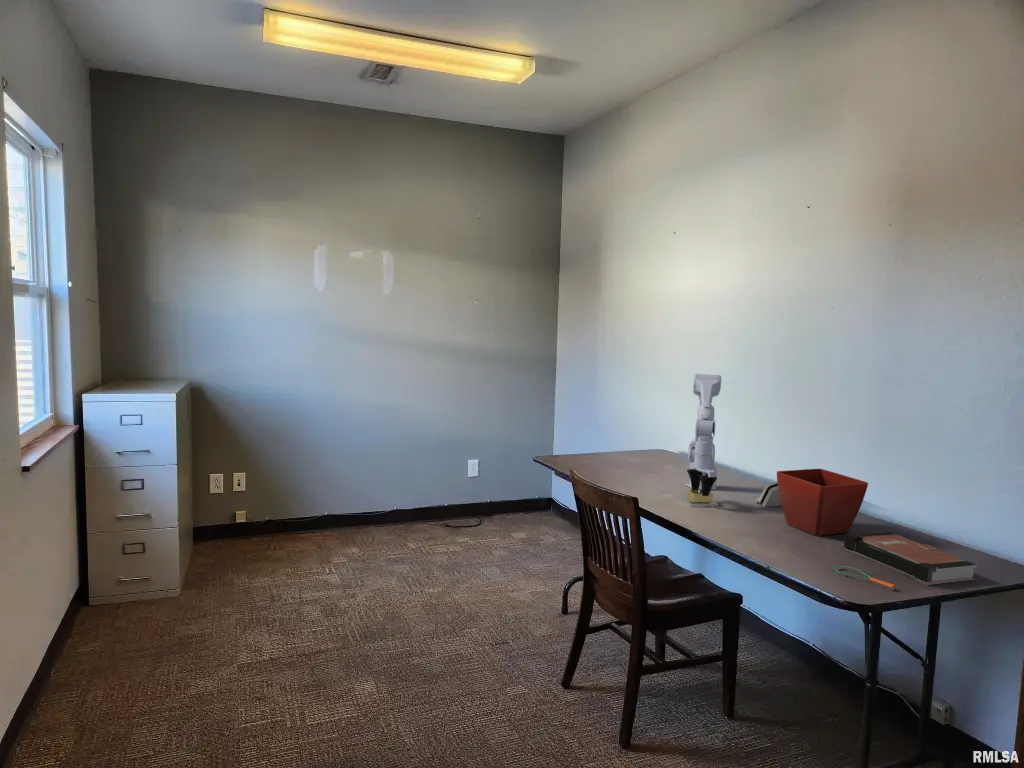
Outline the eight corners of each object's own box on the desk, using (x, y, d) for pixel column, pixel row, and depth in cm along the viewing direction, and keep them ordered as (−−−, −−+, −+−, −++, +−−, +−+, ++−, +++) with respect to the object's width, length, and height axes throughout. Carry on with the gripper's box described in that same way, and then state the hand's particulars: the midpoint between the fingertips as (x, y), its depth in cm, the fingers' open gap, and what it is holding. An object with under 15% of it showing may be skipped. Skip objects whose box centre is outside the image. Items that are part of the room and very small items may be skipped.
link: (705, 498, 236) (705, 489, 236) (712, 502, 231) (712, 493, 231) (686, 498, 235) (687, 489, 234) (693, 502, 230) (694, 493, 229)
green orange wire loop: (828, 572, 174) (829, 565, 174) (842, 568, 177) (843, 562, 177) (886, 594, 161) (887, 587, 161) (900, 590, 164) (901, 583, 164)
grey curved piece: (792, 500, 244) (801, 477, 239) (800, 508, 240) (810, 485, 235) (754, 502, 238) (763, 479, 234) (762, 510, 234) (771, 486, 230)
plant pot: (817, 541, 197) (822, 485, 196) (770, 522, 215) (774, 470, 213) (864, 536, 205) (870, 482, 203) (815, 518, 222) (820, 468, 221)
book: (976, 581, 172) (979, 562, 172) (926, 587, 167) (928, 568, 166) (890, 547, 197) (892, 530, 196) (843, 551, 191) (845, 534, 191)
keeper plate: (707, 500, 237) (708, 487, 237) (717, 506, 231) (718, 492, 230) (681, 501, 235) (682, 487, 235) (690, 506, 229) (691, 492, 228)
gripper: (683, 450, 238) (680, 487, 239) (702, 458, 223) (699, 498, 225) (701, 450, 239) (698, 487, 240) (721, 458, 225) (718, 498, 226)
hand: (700, 492), depth 233 cm, fingers open, 7 cm apart
